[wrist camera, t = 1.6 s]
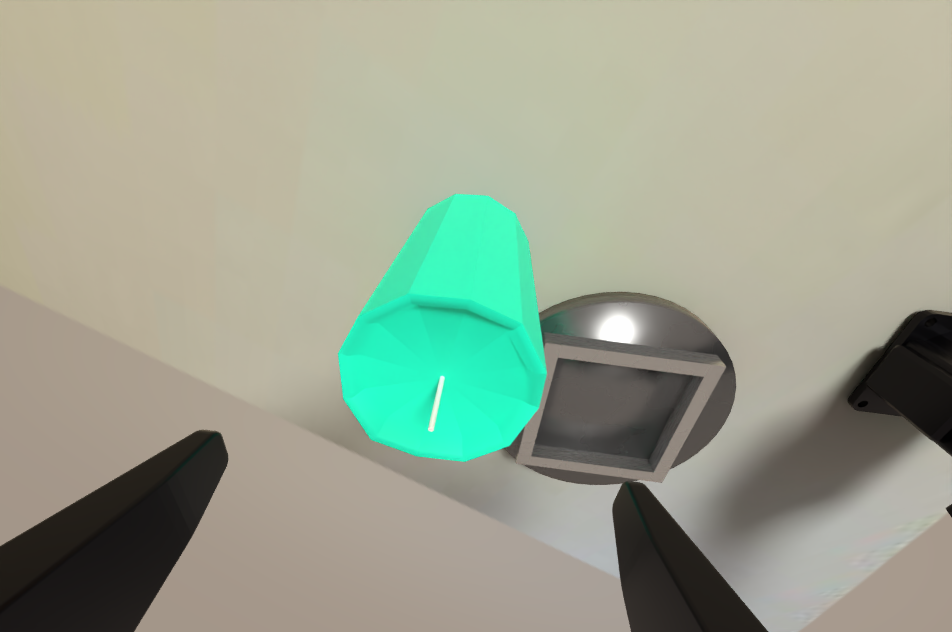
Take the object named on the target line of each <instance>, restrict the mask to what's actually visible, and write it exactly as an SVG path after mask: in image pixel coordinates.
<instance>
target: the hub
mask: <svg viewBox="0 0 952 632" xmlns="http://www.w3.org/2000/svg"><path fill="white" fill-rule="evenodd" d="M539 320H540V327H541V334H542V341H543V348H544V356H545V363H546V370H547V376H546V380H545V384H544V389H543V393H542V397H541V402H540V406H539V408H538V410H537V411H536V412H535V414H534V415H533V416H532V418H531V419H530V420H529V421H528V423H527V424H526V425H525V427H524V428H523V429H522V430H521V432H520V433H519V434H518V436H517V437H516V438H515V439H514V441H513V442H512V443H511V445H510V446H508V447H505V449H506V450H507V451H508V452H509V453H510V454H511V455H512V456H513V457H514V458H515V459H516V463H517V464H524V465H525V466H527V467H528V468H530V469H532V470H534V471H536V472H538V473H540V474H543V475H546V476H548V477H551V478H554V479H558V480H562V481H566V482H572V483H577V484H589V485H608V484H620V483H624V482H625V481H637V480H645V481H653V482H660V483H662V482H663V480H664V478H665V477H666V475H667V473H668V471H669V469H672V468H674V467H676V466H677V465H679V464H681V463H683V462H685V461H686V460H688V459H689V458H691V457H692V456H694V455H695V454H697V453H698V452H699V451H700V450H701V449H703V448H704V447H705V446H706V445H707V444H708V443H709V442H710V441H711V440H712V439H713V438H714V437H715V436H716V435H717V433H718V432H719V430H720V429H721V428H722V426H723V425H724V423H725V421H726V419H727V418H728V416H729V414H730V412H731V408H732V405H733V402H734V398H735V391H736V377H735V371H734V367H733V363H732V361H731V359H730V357H729V354H728V352H727V350H726V349H725V348H724V346H723V345H722V343H721V342H720V341H719V339H718V338H717V337H716V336H715V335H714V333H713V332H712V331H711V330H710V329H709V327H708V326H707V325H706V324H705V323H704V322H703V321H701V320H700V319H699V318H698V317H697V316H696V315H694V314H693V313H691V312H690V311H688V310H687V309H685V308H683V307H681V306H679V305H677V304H675V303H673V302H671V301H668V300H665V299H662V298H659V297H656V296H651V295H646V294H641V293H630V292H606V293H597V294H591V295H585V296H581V297H578V298H574V299H570V300H567V301H564V302H562V303H559V304H557V305H554V306H552V307H550V308H548V309H546V310H544V311H543V312H541V313H539Z"/></svg>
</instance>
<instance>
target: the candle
mask: <svg viewBox="0 0 952 632" xmlns="http://www.w3.org/2000/svg"><path fill="white" fill-rule="evenodd" d="M338 358H339V366H340V375H341V383H342V392H343V399H344V401H345V402H346V404H347V405H348V407H349V408H350V410H351V411H352V413H353V414H354V415H355V417H356V418H357V420H358V421H359V423H360V424H361V426H362V427H363V429H364V430H365V432H366V433H367V435H368V436H369V438H370V439H371V440H373V441H376V442H378V443H381V444H384V445H387V446H389V447H392V448H395V449H398V450H401V451H403V452H406V453H409V454H412V455H414V456H419V457H427V458H436V459H445V460H454V461H462V462H466V461H468V460H471V459H474V458H477V457H480V456H483V455H485V454H488V453H491V452H494V451H497V450H500V449H502V448H505V447H508V446H510V445H511V443H512V442H513V441H514V439H515V438H516V437H517V436H518V434H519V433H520V432H521V430H522V429H523V428H524V427H525V425H526V424H527V423H528V421H529V420H530V419H531V418H532V416H533V415H534V414H535V412H536V411H537V410H538V408H539V406H540V402H541V397H542V393H543V389H544V384H545V380H546V376H547V370H546V363H545V356H544V348H543V341H542V334H541V327H540V320H539V313H538V306H537V299H536V292H535V285H534V278H533V270H532V263H531V256H530V249H529V242H528V240H527V237H526V235H525V233H524V231H523V229H522V227H521V225H520V223H519V221H518V219H517V216H516V214H515V213H513V212H512V211H510V210H509V209H507V208H506V207H504V206H503V205H501V204H500V203H498V202H497V201H495V200H494V199H492V198H491V197H489V196H483V195H465V194H455V195H453V196H451V197H449V198H447V199H445V200H443V201H441V202H439V203H438V204H436V205H434V206H432V207H430V208H428V209H427V211H426V212H425V214H424V215H423V217H422V218H421V220H420V221H419V223H418V225H417V226H416V228H415V229H414V231H413V232H412V234H411V235H410V237H409V239H408V240H407V242H406V243H405V245H404V246H403V248H402V249H401V251H400V252H399V254H398V256H397V257H396V259H395V260H394V262H393V263H392V265H391V266H390V268H389V269H388V271H387V273H386V274H385V276H384V277H383V279H382V280H381V282H380V283H379V285H378V286H377V288H376V290H375V291H374V293H373V294H372V296H371V297H370V299H369V300H368V302H367V304H366V305H365V307H364V308H363V310H362V311H361V313H360V314H359V316H358V318H357V320H356V321H355V323H354V325H353V327H352V329H351V330H350V332H349V334H348V336H347V338H346V340H345V341H344V343H343V345H342V347H341V349H340V351H339V352H338Z"/></svg>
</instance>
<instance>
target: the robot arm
mask: <svg viewBox="0 0 952 632" xmlns="http://www.w3.org/2000/svg"><path fill="white" fill-rule="evenodd" d="M848 404H849V405H850V406H851V407H853V408H854V409H855V410H858V411H865V412H873V413H880V414H888V415H896V416H903V417H904V418H905V419H906V420H907V421H909V422H910V423H911V424H912V425H913V426H915V427H916V428H917V429H918V430H919V431H921V432H922V433H923V434H924V435H925V436H927V437H928V438H929V439H931V440H932V441H934V442H935V443H936V444H938V445H939V446H940V447H941V448H942V449H944V450H945V451H946V452H947V453H948V454H950V455H951V456H952V313H949V312H942V311H934V310H925V311H921V312H920V313H918V314H916V315H915V316H914V317H913V318H912V320H911V321H910V322H909V323H908V325H907V326H906V327H905V328H904V330H903V331H902V332H901V333H900V335H899V336H898V337H897V339H896V340H895V341H894V342H893V344H892V345H891V346H890V347H889V349H888V350H887V351H886V352H885V354H884V355H883V356H882V357H881V359H880V360H879V361H878V362H877V364H876V365H875V366H874V367H873V369H872V370H871V371H870V372H869V374H868V375H867V376H866V377H865V379H864V380H863V381H862V382H861V384H860V385H859V386H858V387H857V389H856V390H855V391H854V392H853V394H852V395H851V396H850V397H849V399H848ZM227 463H228V453H227V450H226V447H225V444H224V440H223V437H222V435H221V433H219V432H217V431H210V430H199V431H196V432H194V433H192V434H191V435H189V436H187V437H186V438H184V439H182V440H181V441H179V442H177V443H176V444H174V445H172V446H170V447H169V448H167V449H165V450H163V451H162V452H160V453H158V454H157V455H155V456H153V457H152V458H150V459H148V460H146V461H145V462H143V463H141V464H140V465H138V466H136V467H135V468H133V469H131V470H130V471H128V472H126V473H124V474H123V475H121V476H119V477H117V478H116V479H114V480H112V481H110V482H109V483H107V484H106V485H104V486H102V487H100V488H99V489H97V490H95V491H94V492H92V493H90V494H88V495H87V496H85V497H84V498H81V499H80V500H78V501H76V502H75V503H73V504H71V505H70V506H68V507H66V508H64V509H63V510H61V511H59V512H58V513H56V514H54V515H53V516H51V517H49V518H47V519H46V520H44V521H42V522H41V523H39V524H37V525H35V526H34V527H32V528H31V529H29V530H27V531H25V532H23V533H22V534H20V535H18V536H17V537H15V538H13V539H12V540H10V541H8V542H6V543H5V544H3V545H2V546H0V632H134V631H135V629H136V627H137V626H138V624H139V623H140V621H141V619H142V618H143V616H144V615H145V613H146V611H147V610H148V608H149V606H150V605H151V603H152V602H153V600H154V598H155V597H156V595H157V593H158V592H159V590H160V588H161V587H162V585H163V584H164V582H165V580H166V578H167V577H168V575H169V574H170V572H171V570H172V568H173V567H174V565H175V564H176V562H177V561H178V559H179V557H180V556H181V554H182V552H183V551H184V549H185V548H186V546H187V544H188V542H189V541H190V539H191V537H192V535H193V534H194V532H195V530H196V528H197V526H198V524H199V522H200V520H201V518H202V516H203V514H204V512H205V510H206V508H207V506H208V503H209V502H210V499H211V497H212V495H213V493H214V491H215V489H216V487H217V485H218V483H219V481H220V478H221V477H222V475H223V473H224V471H225V469H226V467H227ZM946 510H947V512H948V513H949V514H950V516H951V517H952V504H951V505H949V506H948V507H947V508H946ZM612 513H613V522H614V530H615V538H616V547H617V555H618V563H619V572H620V579H621V586H622V591H623V597H624V601H625V606H626V610H627V615H628V619H629V624H630V628H631V632H768V631H767V630H766V628H765V627H764V626H763V625H762V624H761V622H760V621H759V620H758V619H757V618H756V616H755V615H754V614H753V613H752V612H751V611H750V609H749V608H748V607H747V606H746V605H745V603H744V602H743V601H742V600H741V599H740V597H739V596H738V595H737V594H736V593H735V591H734V590H733V589H732V588H731V587H730V585H729V584H728V583H727V582H726V581H725V579H724V578H723V577H722V576H721V575H720V574H719V572H718V571H717V570H716V569H715V568H714V566H713V565H712V564H711V563H710V562H709V560H708V559H707V558H706V557H705V556H704V554H703V553H702V552H701V551H700V550H699V548H698V547H697V546H696V545H695V544H694V543H693V541H692V540H691V539H690V538H689V537H688V535H687V534H686V533H685V532H684V531H683V529H682V528H681V527H680V526H679V525H678V523H677V522H676V521H675V520H674V519H673V517H672V516H671V515H670V514H669V513H668V512H667V510H666V509H665V508H664V507H663V506H662V504H661V503H660V502H659V501H658V500H657V498H656V497H655V496H654V495H653V494H652V492H651V491H650V490H649V489H648V488H647V487H646V486H645V485H644V484H643V483H640V482H632V481H625V482H624V483H623V484H622V485H621V488H620V490H619V492H618V494H617V496H616V498H615V500H614V503H613V509H612Z"/></svg>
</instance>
